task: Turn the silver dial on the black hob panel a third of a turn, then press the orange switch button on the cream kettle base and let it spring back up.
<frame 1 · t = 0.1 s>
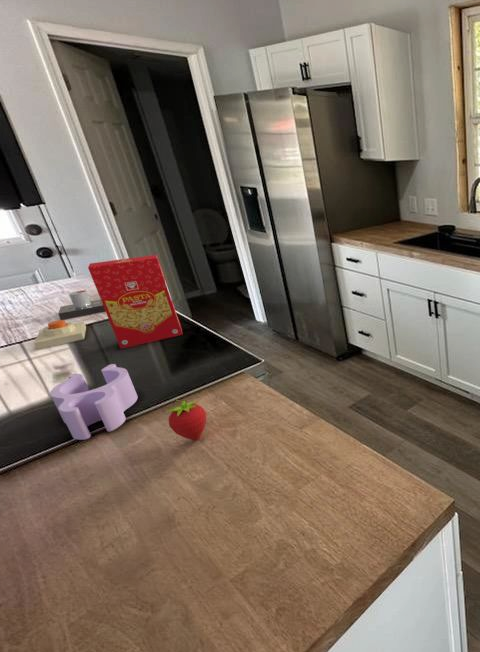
food packaging: (152, 339, 128), on the worktop
kettle button: (57, 324, 127), point 4 cm above the worktop, slide at 0.1 cm
kettle base: (63, 337, 129), on the worktop
hob dial: (80, 298, 147), point 5 cm above the worktop, hinge at 0.0°
clip: (101, 413, 92), on the worktop
strawberry: (196, 441, 83), on the worktop
hob panel: (85, 312, 148), on the worktop
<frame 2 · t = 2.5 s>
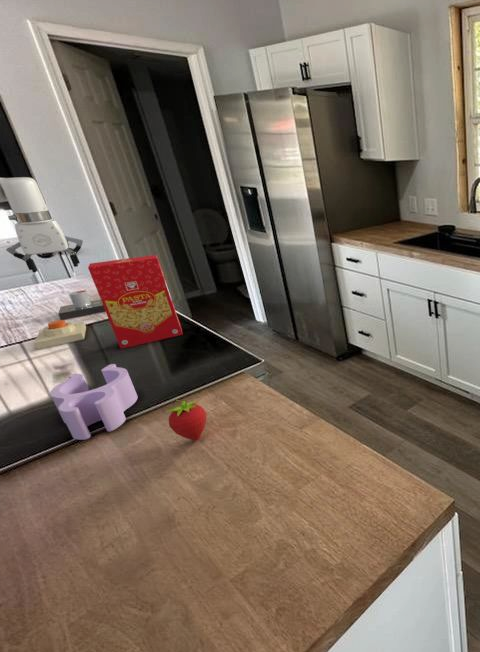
hand: (56, 268, 138), 18 cm above the worktop, tool pointing down, fingers open, 9 cm apart
nothing on the worktop moved.
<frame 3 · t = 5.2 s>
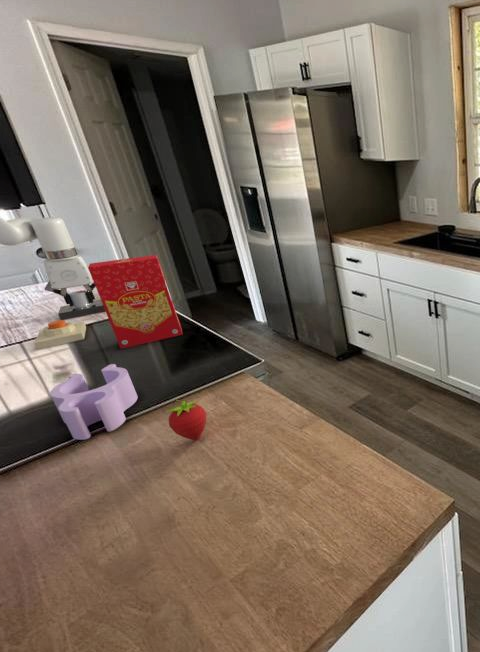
hand: (82, 303, 147), 3 cm above the worktop, tool pointing down, fingers closed on hob dial, 4 cm apart
hob dial: (80, 298, 147), point 5 cm above the worktop, hinge at 0.2°, touching gripper
everything else where it was.
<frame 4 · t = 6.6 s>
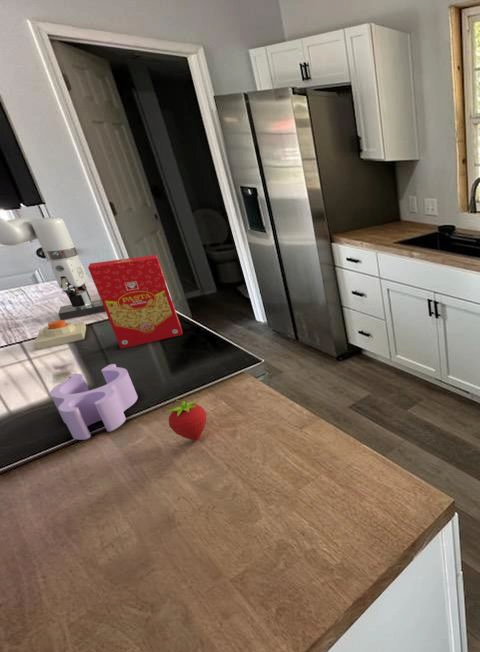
hand: (82, 303, 147), 3 cm above the worktop, tool pointing down, fingers closed on hob dial, 4 cm apart
hob dial: (80, 298, 147), point 5 cm above the worktop, hinge at 75.6°, touching gripper
everything else where it was.
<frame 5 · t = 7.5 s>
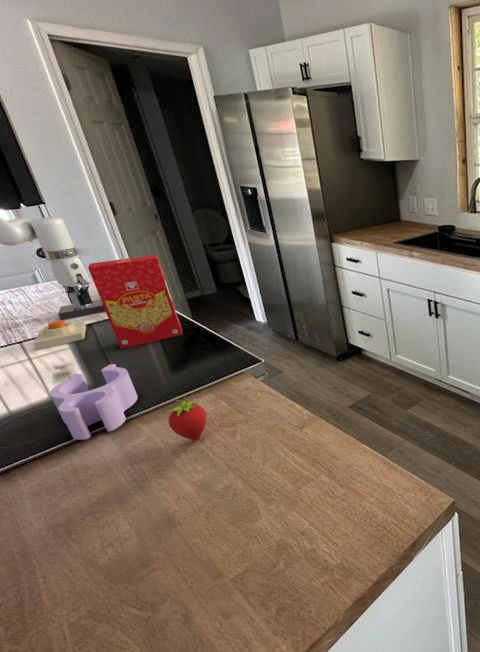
hand: (82, 303, 147), 3 cm above the worktop, tool pointing down, fingers closed on hob dial, 4 cm apart
hob dial: (80, 298, 147), point 5 cm above the worktop, hinge at 119.7°, touching gripper
everything else where it was.
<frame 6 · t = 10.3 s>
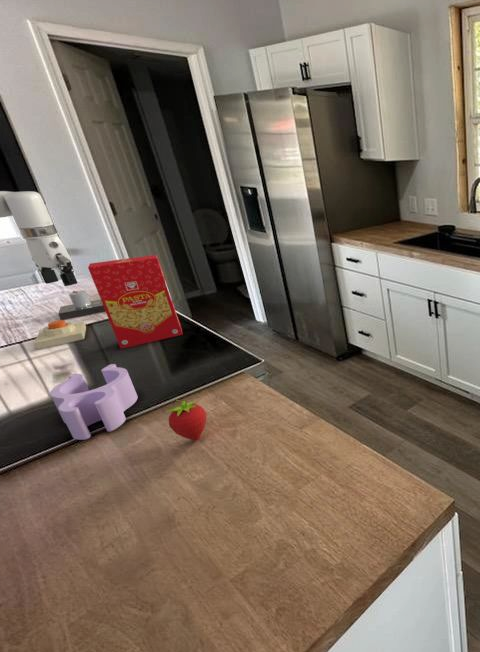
hand: (61, 283, 135), 14 cm above the worktop, tool pointing down, fingers open, 9 cm apart
hob dial: (80, 298, 147), point 5 cm above the worktop, hinge at 118.7°
everything else where it was.
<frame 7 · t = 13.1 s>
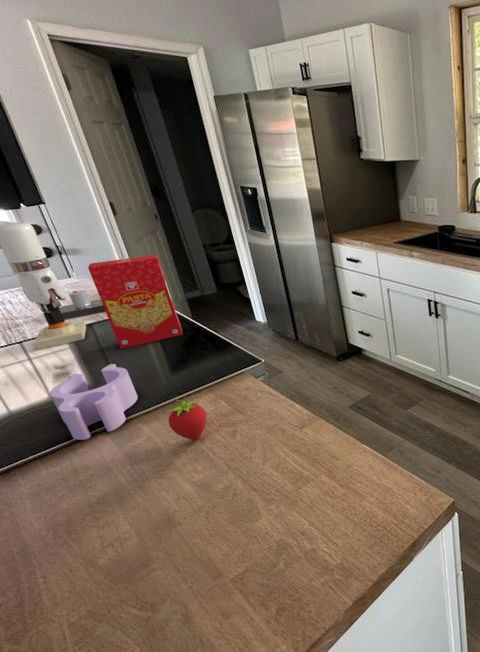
hand: (56, 322, 127), 5 cm above the worktop, tool pointing down, fingers closed
kettle button: (57, 325, 127), point 4 cm above the worktop, slide at -0.2 cm, touching gripper
everything else where it was.
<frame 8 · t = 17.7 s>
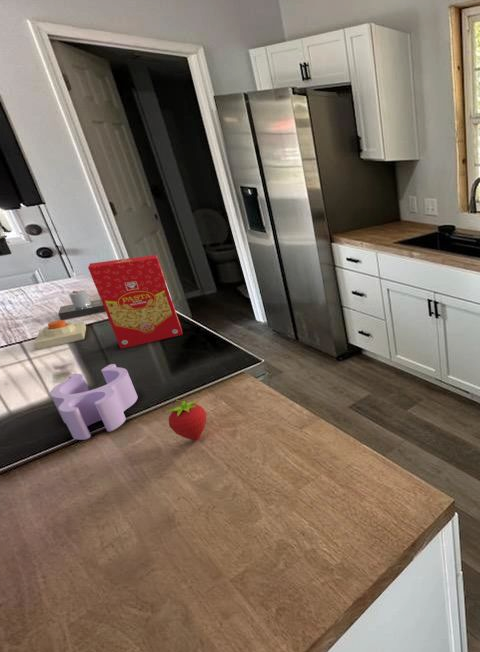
hand: (3, 254, 134), 23 cm above the worktop, tool pointing down, fingers closed
kettle button: (57, 324, 127), point 4 cm above the worktop, slide at 0.1 cm
everything else where it was.
at the end: hob dial at +119° (first picture: +0°); kettle button pushed in 1.1 cm at the most during the clip, back to where it started at the end; kettle button slide at 0.1 cm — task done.
